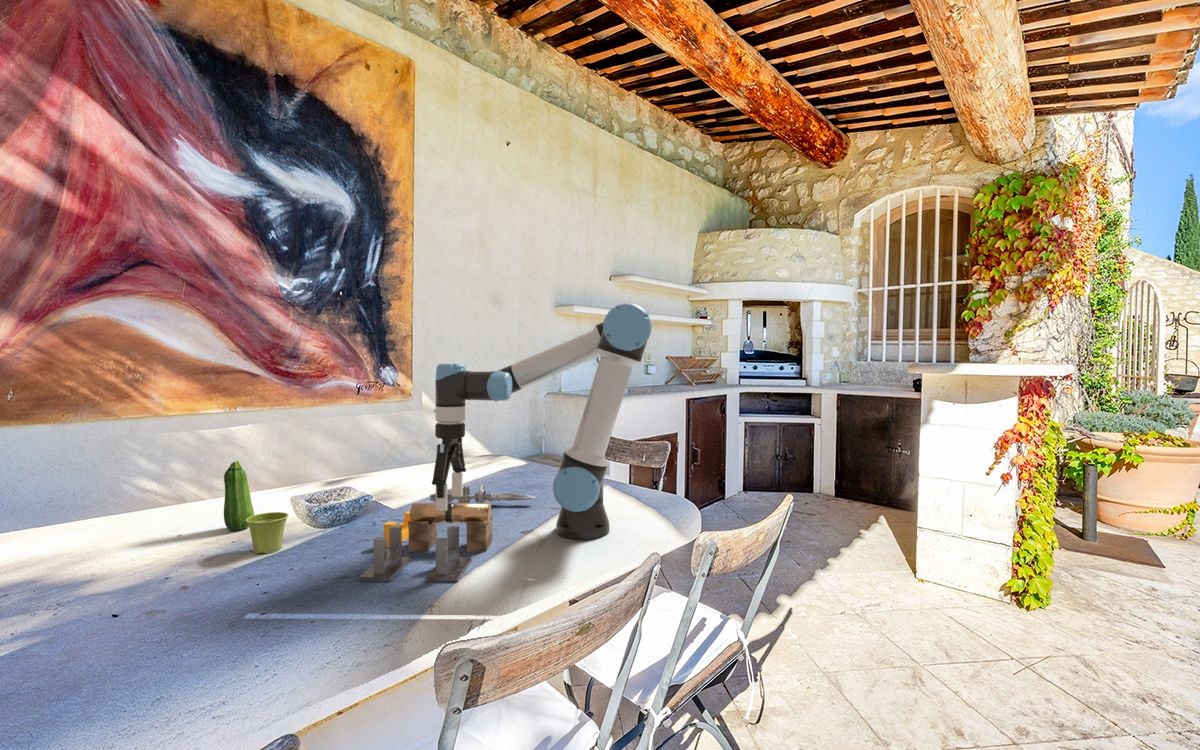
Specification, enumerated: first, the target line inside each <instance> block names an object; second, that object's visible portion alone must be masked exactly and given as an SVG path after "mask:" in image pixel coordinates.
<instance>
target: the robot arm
mask: <svg viewBox="0 0 1200 750" xmlns="http://www.w3.org/2000/svg"><path fill="white" fill-rule="evenodd" d="M652 328H653V326H652V321H651V317H650V315H649V314H648V312H647V311H646V310H645V309H644V308H642V306H640V305H637V304H635V303H631V302H626V303H621V304H617V305H615V306H614V307H612V308H611V309H610V310H609V311H608V313H606V315H605V318H603V322H600V323H597V324H595V325H594V327H593V330H590V331H588V332H586V333H583V334H581V335H579V336H576V337H574V338H571V339H570V340H566V341H565V342H562V343H559V344H558V345H555V346H553V347H550V348H548V349H546V350H543V351H541V352H539V353H536V354H534V355H532V356H530V357H526V358H525V359H522V360H520V361H518V362H515V363H513V364H511V365H508V366H505V367H503V368H501V369H498V370H495V371H494V370H492V371H490V370H489V371H471V370H470V371H469V370H467V368H466V365H465V364H464V363H438V364H437V366H436V368H435V370H436V371H435V380H434V382H435V409H434V410H433V413H434V414H435V421H436V422H437V423H435V425H434V428H435V430H434V431H435V432H434V435H435V438H437V439H441V440H442V441H441V443H440V444H439V443H438V444H437V446H436V457H435V461H434V462H435V463H434V468H433V469H434V471H433V476H432V477H433V478H432V480H431V485H433V486H434V485H435V493H436V502H435V503H436V510H440V511H446V510H447V490H448V483H447V480H448V475H449V471H450V467H452V470H453V472H452V473H451V491H452V496H455V497H462V488H463V486H464V483H463V479H464V477H463V475H464V473H466V472H467V468H466V463H465V456H464V449H463V438H464V437H465V436H466V424H465V422H466V400H467V401H493V402H500V401H502V402H503V401H508V400H509V399H510V398H511V396H512V394H514V393H517V392H519V391H521V390H523V389H525V388H527V387H530V386H532V385H535V384H537V383H539V382H542V381H545V380H547V379H549V378H553V377H554V376H556V375H559V374H561V373H564V372H566V371H569V370H571V369H573V368H576V367H579V366H581V365H582V364H586V363H588V362H590V361H592V360H595V359H598V358H599V360H598V365H597V368H596V371H595V374H594V378H593V381H592V384H591V387H590V390H589V393H588V396H587V399H586V403H585V405H584V409H583V412H582V415H581V418H580V421H579V423H578V424H579V425H578V428H577V431H576V434H575V437H574V440H573V443H572V445H571V446H570V447H568V448H566V449H565V450H564V451H563V452H562V456H561V463H560V465H559V468H558V472H557V474H556V476H555V477H554V479H553V481H552V482H553V483H552V493H553V496H554V499H555V501H556V502H557V503H558V505H560V509H559V514H558V518H557V521H556V524H555V527H556V529H555V531H556V534H557V535H558V536H560V537H562V538H566V539H571V540H592V539H597V538H601V537H604V536H606V535H607V534H609V533H610V520H609V518H608V514H607V511H606V509H605V505H604V478H605V475H606V472H607V468H608V466H609V463H608V460H607V458H606V453H607V449H608V446H609V444H610V439H611V437H612V433H613V430H614V427H615V423H616V421H617V417H618V414H619V411H620V408H621V405H622V402H623V398H624V396H625V392H626V390H627V387H628V384H629V380H630V376H631V374H632V371H633V368H634V367H635V366H638V365H639V364H641V362H642V359H643V356H644V352H645V349H646V346H647V343H648V340H649V339H650V336H651V333H652Z"/></svg>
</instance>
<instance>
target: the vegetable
mask: <svg viewBox="0 0 1200 750" xmlns="http://www.w3.org/2000/svg"><path fill="white" fill-rule="evenodd" d="M223 481H224V482H223V484H224V502H223V503H224V504H223V521H224V524H225V526H226V528H227V529H228V530H230V531H232V532H233V531H234V532H237V531H238V530H239V531H243V529H244V530H246V529H248V528H249V526H248V523H247V522H246V519H247V518H248V517H251V516H253V515H255V513H254V507H253V503H252V498H251V491H250V487H249V483H248V477H247V473H246V471H245V470H244V469H243V467H242V465H241V463H240V461H239V460H235V461H233V462H232V463H230V465H229V466H228V468H227V470H226V471H225V472H224V475H223Z"/></svg>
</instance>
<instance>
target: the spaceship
mask: <svg viewBox="0 0 1200 750" xmlns="http://www.w3.org/2000/svg"><path fill="white" fill-rule="evenodd" d="M429 497H430V498H429V500H428V501H433V503H436V492H435V493H432V494H430V495H429ZM533 499H537V496H534V495H531V494H521V493H520V494H519V493H518V494H517V493H509V492H507V493H500V492H498V493H493V492H489V493H487V492H486V488H485V485H484V484H482V485H481V486H480V487H479V490H478V492H475V494H473V495H472V494H471V492H470V486H467V487H466V486H465V485H463V487H462V497H455V496H452V489H451V490H450V489H447V503H453V501H455V500H457V501H458V502H457V503H470V502H471V500H474V501H475V503H486V501H488V502H493V501H497V502H500V501H525V500H527V501H529V500H533Z"/></svg>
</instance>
